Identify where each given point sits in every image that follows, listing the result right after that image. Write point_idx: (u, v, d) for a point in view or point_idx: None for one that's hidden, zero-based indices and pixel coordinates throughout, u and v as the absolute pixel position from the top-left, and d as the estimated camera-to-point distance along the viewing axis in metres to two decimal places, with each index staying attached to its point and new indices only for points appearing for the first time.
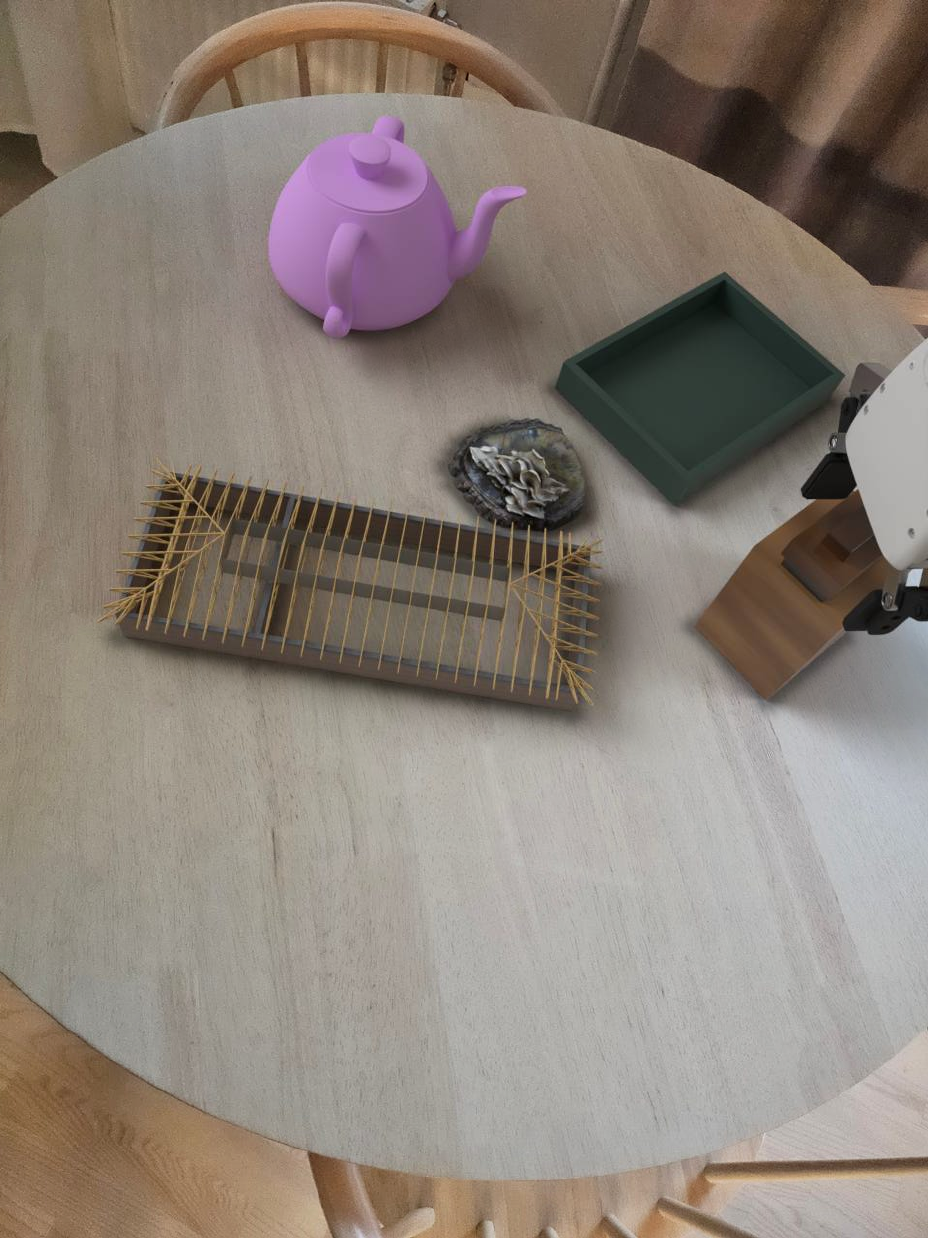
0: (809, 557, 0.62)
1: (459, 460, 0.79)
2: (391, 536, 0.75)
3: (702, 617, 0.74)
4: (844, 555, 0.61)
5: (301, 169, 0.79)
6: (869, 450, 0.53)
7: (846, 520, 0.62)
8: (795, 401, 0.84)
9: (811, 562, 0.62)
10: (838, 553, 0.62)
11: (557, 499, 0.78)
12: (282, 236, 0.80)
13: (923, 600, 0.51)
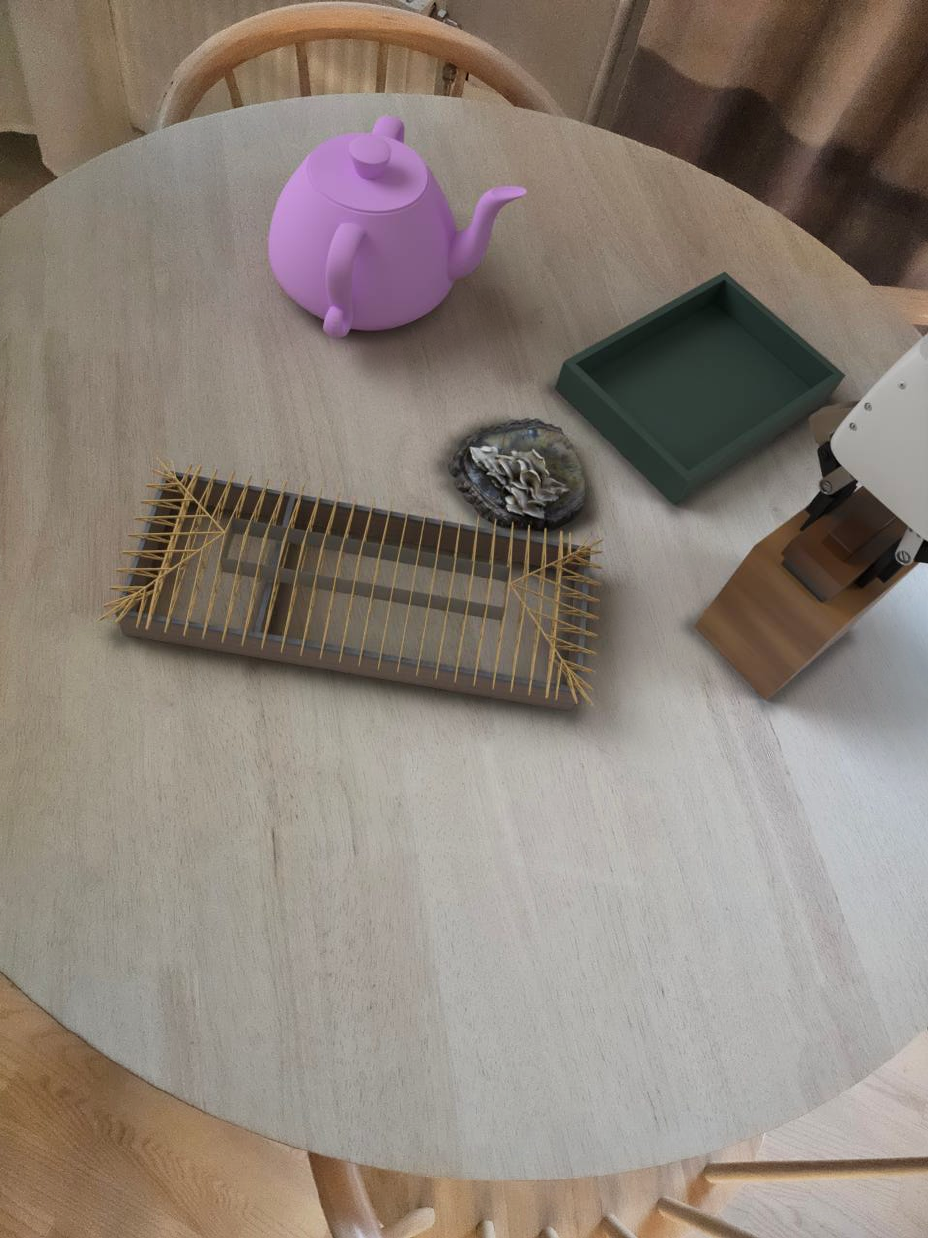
0: (809, 557, 0.62)
1: (459, 460, 0.79)
2: (391, 535, 0.75)
3: (702, 617, 0.74)
4: (844, 555, 0.61)
5: (301, 169, 0.79)
6: (875, 460, 0.57)
7: (846, 520, 0.62)
8: (795, 401, 0.84)
9: (811, 562, 0.62)
10: (838, 553, 0.62)
11: (557, 499, 0.78)
12: (282, 236, 0.80)
13: None
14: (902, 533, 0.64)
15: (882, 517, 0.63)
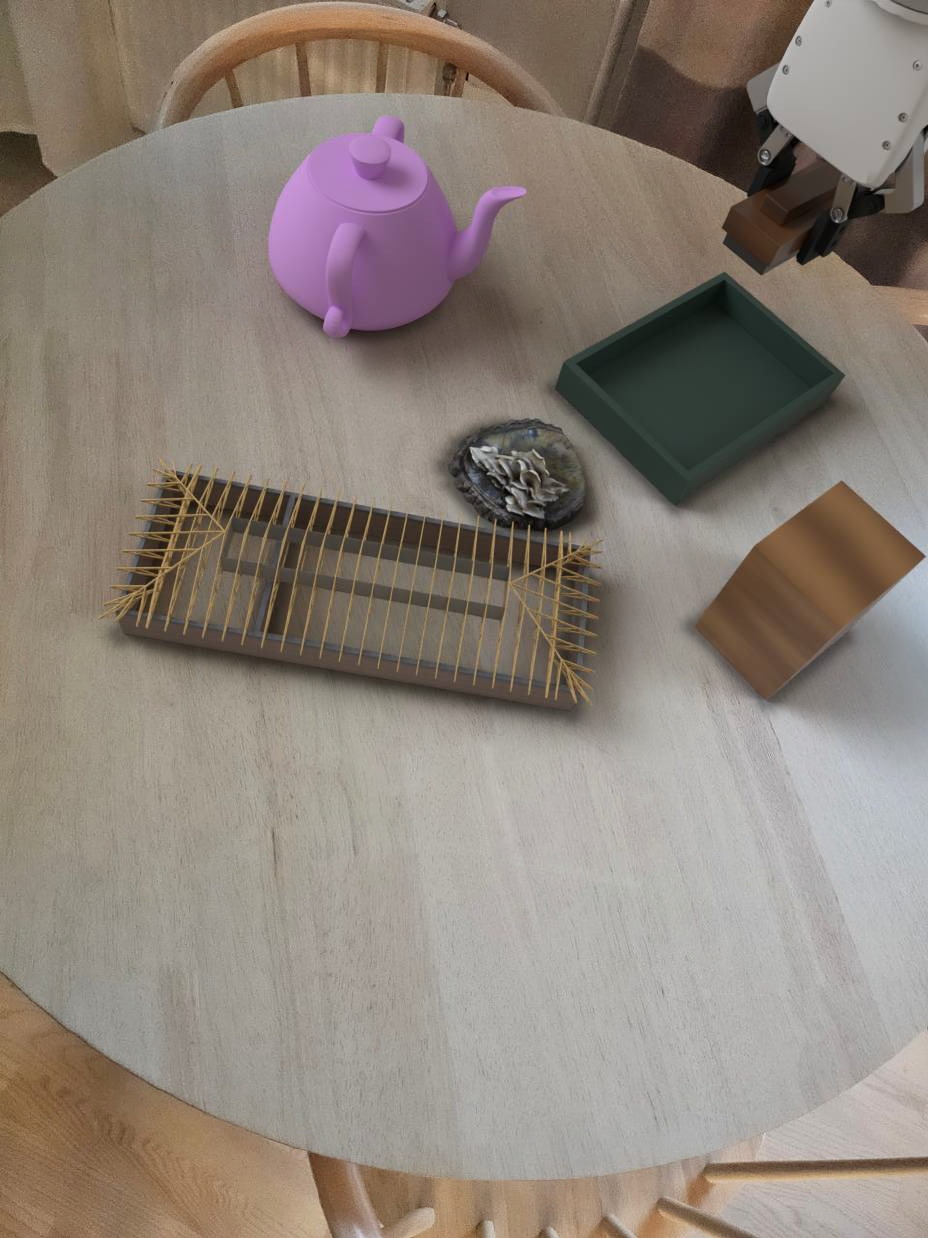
0: (747, 221, 0.64)
1: (459, 460, 0.79)
2: (392, 535, 0.75)
3: (702, 617, 0.74)
4: (781, 217, 0.63)
5: (301, 169, 0.79)
6: (807, 101, 0.59)
7: (783, 186, 0.64)
8: (795, 401, 0.84)
9: (749, 226, 0.64)
10: (775, 217, 0.64)
11: (557, 499, 0.78)
12: (282, 236, 0.80)
13: (871, 195, 0.61)
14: None
15: (818, 186, 0.65)
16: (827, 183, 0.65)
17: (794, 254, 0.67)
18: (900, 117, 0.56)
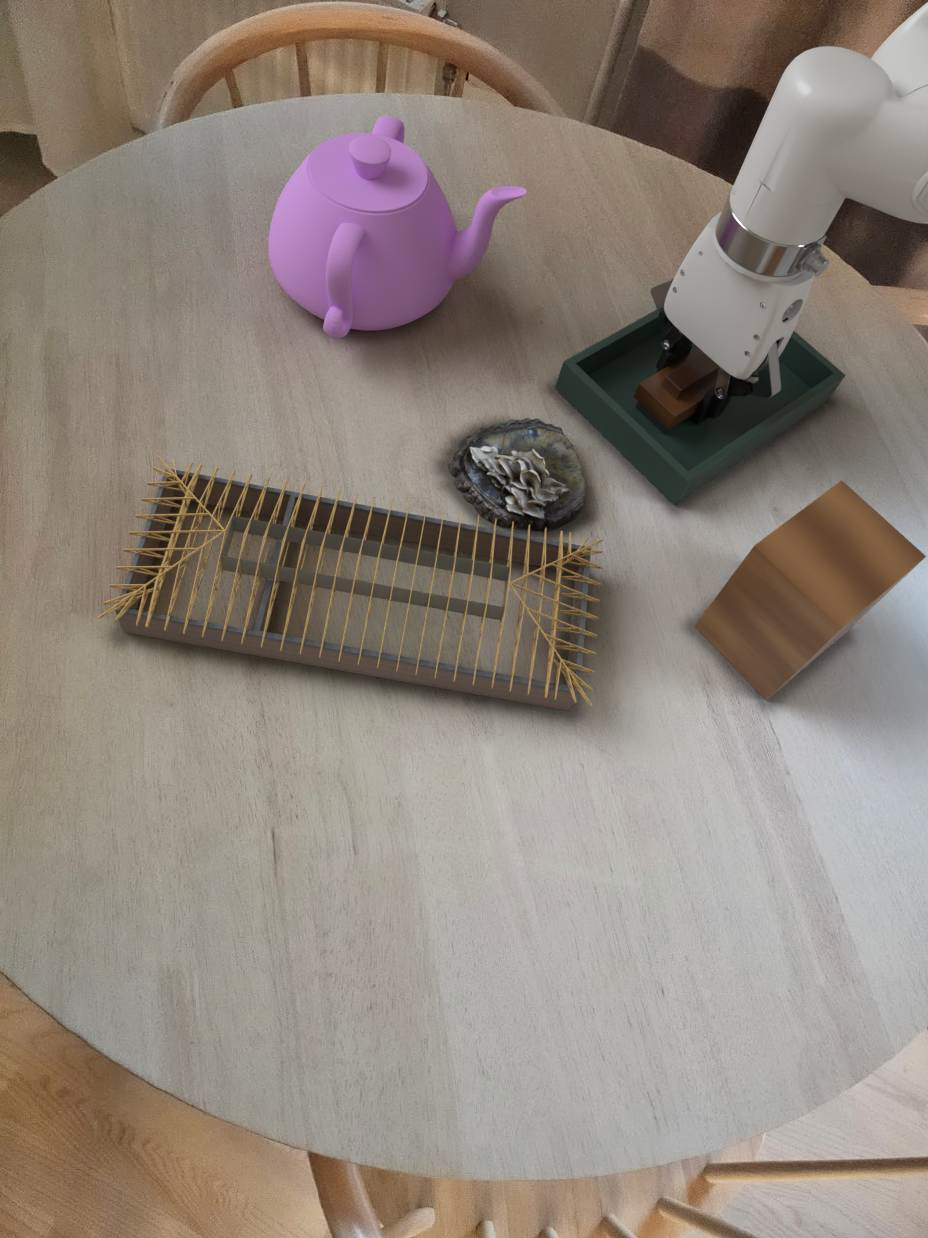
0: (651, 395, 0.82)
1: (459, 460, 0.79)
2: (392, 534, 0.75)
3: (702, 617, 0.74)
4: (677, 393, 0.82)
5: (301, 169, 0.79)
6: (691, 314, 0.78)
7: (679, 368, 0.82)
8: (795, 401, 0.84)
9: (653, 399, 0.82)
10: (673, 392, 0.82)
11: (557, 499, 0.78)
12: (282, 236, 0.80)
13: (743, 382, 0.79)
14: None
15: (708, 367, 0.83)
16: (715, 364, 0.83)
17: (691, 415, 0.85)
18: (755, 336, 0.74)
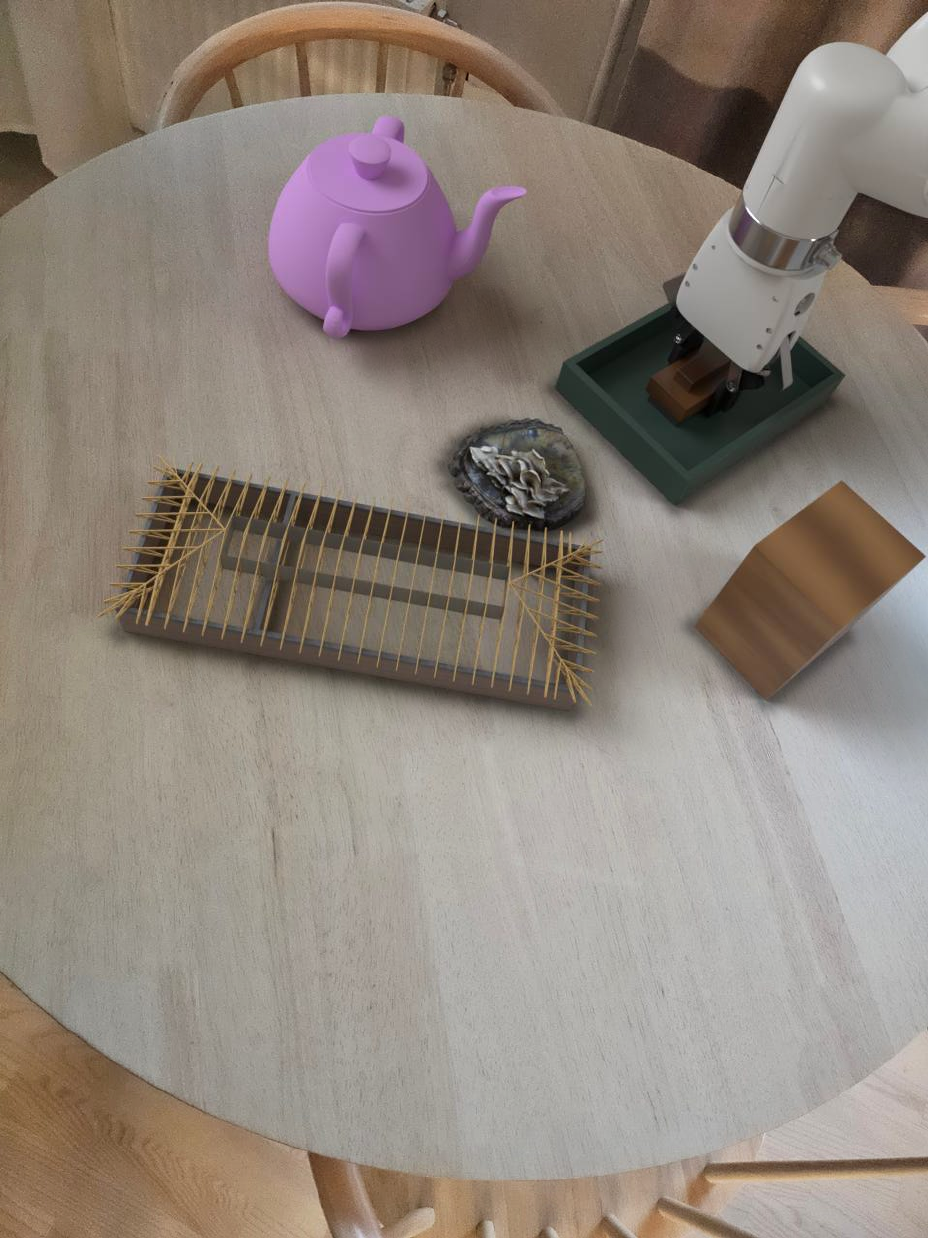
0: (663, 388, 0.83)
1: (459, 460, 0.79)
2: (392, 534, 0.75)
3: (702, 617, 0.74)
4: (688, 386, 0.83)
5: (301, 169, 0.79)
6: (703, 308, 0.78)
7: (691, 361, 0.83)
8: (795, 401, 0.84)
9: (665, 392, 0.83)
10: (684, 385, 0.83)
11: (557, 499, 0.78)
12: (282, 236, 0.80)
13: (754, 375, 0.80)
14: None
15: (719, 360, 0.84)
16: (726, 357, 0.84)
17: (703, 408, 0.86)
18: (767, 329, 0.75)
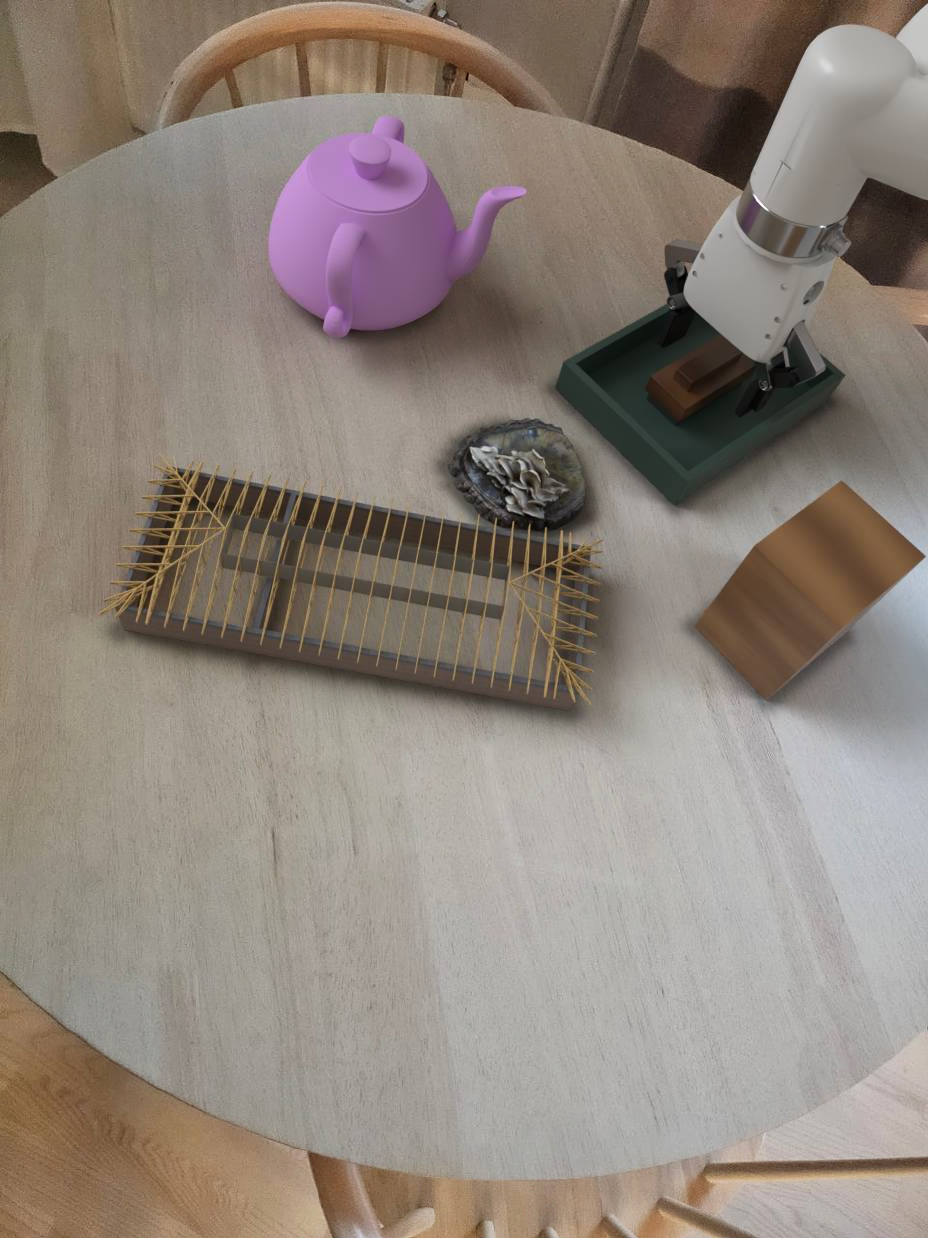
0: (663, 388, 0.83)
1: (459, 460, 0.79)
2: (392, 533, 0.75)
3: (702, 617, 0.74)
4: (688, 385, 0.83)
5: (301, 169, 0.79)
6: (711, 298, 0.78)
7: (690, 361, 0.83)
8: (795, 401, 0.84)
9: (664, 392, 0.83)
10: (684, 385, 0.83)
11: (557, 499, 0.78)
12: (282, 236, 0.80)
13: (788, 373, 0.77)
14: (736, 374, 0.85)
15: (718, 359, 0.84)
16: (725, 356, 0.84)
17: (702, 407, 0.86)
18: (776, 319, 0.74)
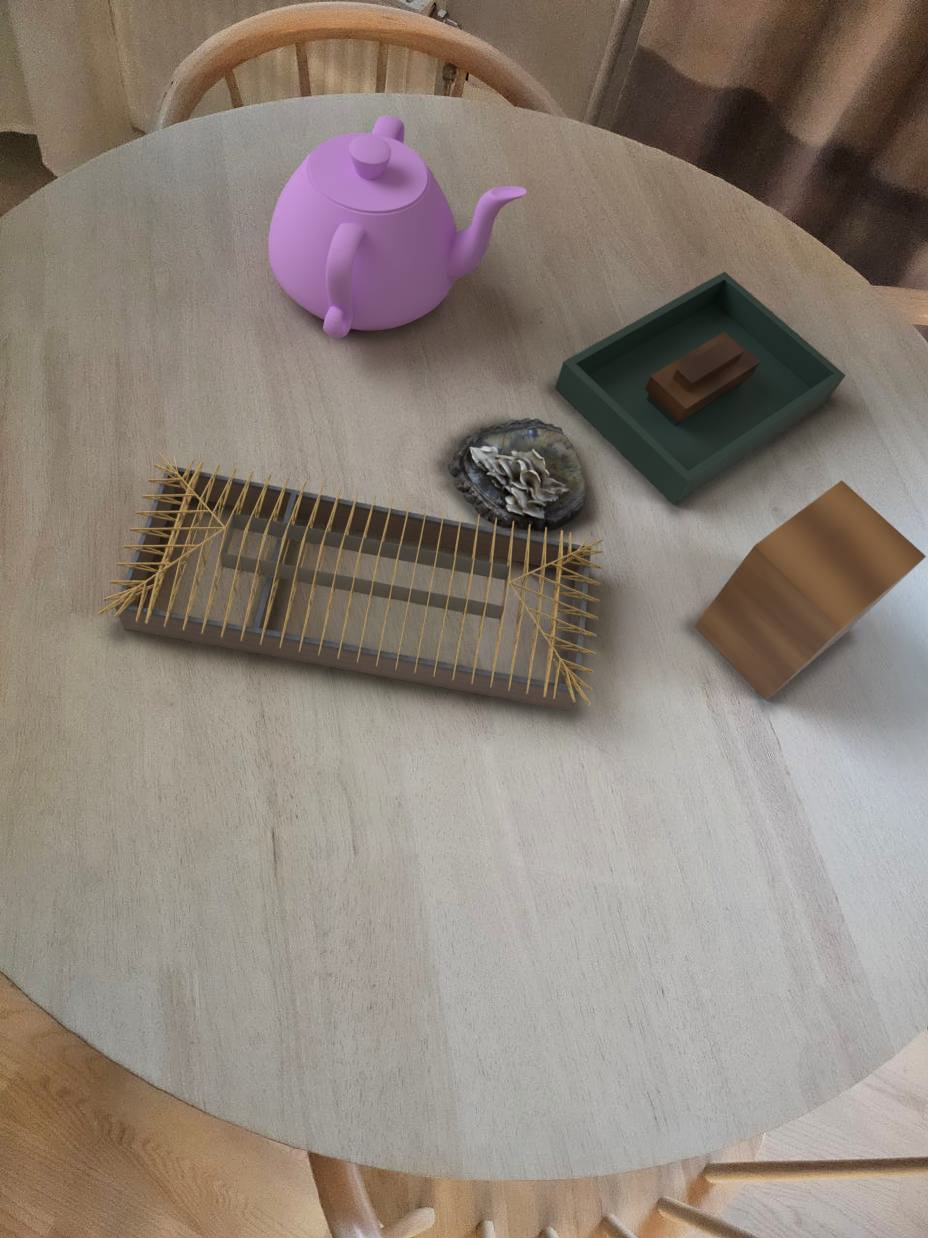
0: (663, 388, 0.83)
1: (459, 460, 0.79)
2: (392, 533, 0.75)
3: (702, 617, 0.74)
4: (688, 385, 0.83)
5: (301, 169, 0.79)
6: None
7: (690, 361, 0.83)
8: (795, 401, 0.84)
9: (664, 392, 0.83)
10: (684, 385, 0.83)
11: (557, 499, 0.78)
12: (282, 236, 0.80)
13: None
14: (736, 374, 0.85)
15: (718, 359, 0.84)
16: (725, 356, 0.84)
17: (702, 407, 0.86)
18: None
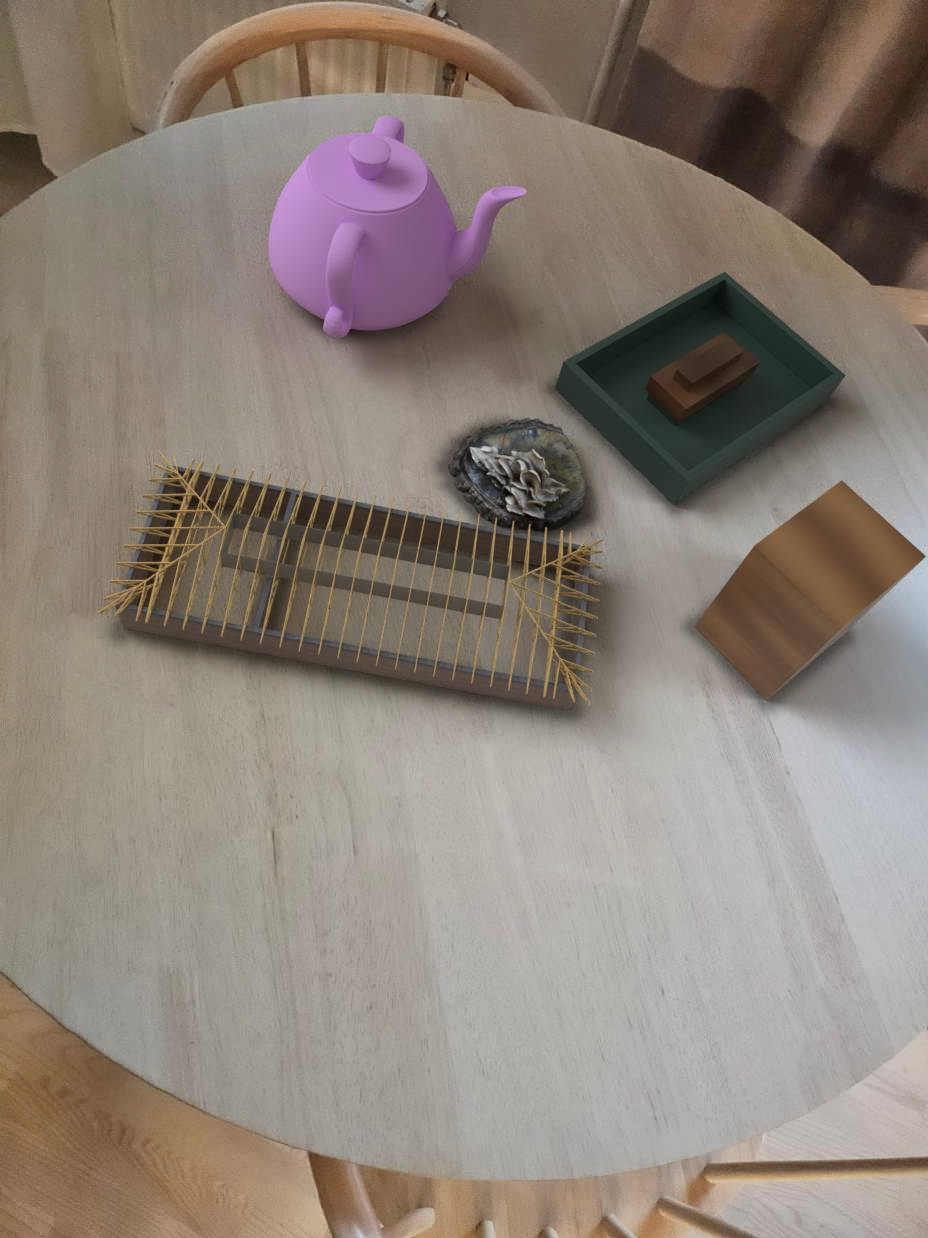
0: (663, 388, 0.83)
1: (459, 460, 0.79)
2: (392, 533, 0.75)
3: (702, 617, 0.74)
4: (688, 385, 0.83)
5: (301, 169, 0.79)
6: None
7: (690, 361, 0.83)
8: (795, 401, 0.84)
9: (664, 392, 0.83)
10: (684, 385, 0.83)
11: (557, 499, 0.78)
12: (282, 236, 0.80)
13: None
14: (736, 374, 0.85)
15: (718, 359, 0.84)
16: (725, 356, 0.84)
17: (702, 407, 0.86)
18: None
